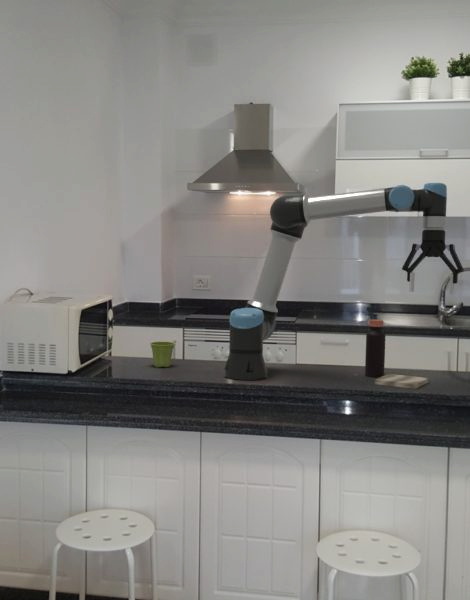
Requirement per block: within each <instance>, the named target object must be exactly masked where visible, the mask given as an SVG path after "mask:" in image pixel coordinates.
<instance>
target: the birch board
mask: <svg viewBox="0 0 470 600" xmlns="http://www.w3.org/2000/svg"><path fill="white" fill-rule="evenodd" d="M428 383H429V377H420V376H412V375H403V374H394V373H387V374H384V376H382V377H377V378H376V379H374V384H375V385H379V386H387V387H388V386H389V387H395V388H397V387H398V388H406V389H413V390H417V389H419V388H421V387H423V386H425V385H426V384H428Z"/></svg>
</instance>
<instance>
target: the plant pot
mask: <svg viewBox="0 0 470 600" xmlns="http://www.w3.org/2000/svg"><path fill="white" fill-rule="evenodd" d="M149 345H150V348H151V352H152V361H153V366H154V367H156V368H162V367H163V368H169V367H171V363H172V357H173V351H174V349H175V348H174V347H175V345H176V342H172V341H152V342H150V343H149Z"/></svg>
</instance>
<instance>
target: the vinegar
mask: <svg viewBox="0 0 470 600" xmlns="http://www.w3.org/2000/svg"><path fill="white" fill-rule="evenodd" d="M368 322H369V324H368V325H369V326H368V327H369V330H368V331H367V332H366V335H365V360H364V361H365V364H364V365H365V366H364V367H365V368H364V375H365V376H366V377H368V378H369V377H370V378H380V377H382V376H385V358H386V333H385V332H384V331H383V328H384V320H383V319H369V321H368Z"/></svg>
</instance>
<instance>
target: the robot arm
mask: <svg viewBox="0 0 470 600" xmlns="http://www.w3.org/2000/svg"><path fill="white" fill-rule="evenodd" d="M447 191H448V188H447V185H446V184H445V183H442V182H427V183H424V185H423V188H421V189H412V188H411V187H410V186H408V185H405V184H400V185H395V186H392V187H387V188H386V187H385V188H375V189H374V188H373V189H367V190H358V191H350V192H342V193H334V194H324V195H318V196H316V195H315V196H310V197H309V196H308V195H306V194H301V195H299V194H298V195H282V196H279V197H278V198H276V199H275V200H274V201H273V203H272V204H271V206H270V208H269V209H270V210H269V214H270V215H269V216H270V219H271V221H272V223H271V225H270V229H269V230H270V232H271V234H272V237H271V240H270V243H269V246H268V250H267V251H266V252H267V253H266V256H265V259H264V262H263V266H262V269H261V272H260V276H259V278H258V282H257V285H256V288H255V291H254V294H253V297H252V298H251V299H249V300H248V301H247V303H246V305H245V307H241V308H236V309H233V310H232V311H231V312H230V316H229V349H228V350H229V353H228V357H227V360H226V363H225V366H224V369H223V377H225V378H228V379H230V380H231V379H232V380H239V381H240V380H243V381H253V380H256V381H258V380H262V379H266V378H268V369H267V364H266V361H265V358H264V354H263V351H264V350H263V349H264V342H265V341H266V340H267V339H269V338H270V337H272V335H273V334H274V332H275V330H276V329H275V328H276V327H277V326H276V325H277V323H276V319H277V315H278V313H279V311H278V308H277V306H276V305H277V302H278V298H279V295H280V292H281V289H282V285H283V283H284V280H285V277H286V274H287V270H288V267H289V265H290V264H289V263H290V262H291V258H292V254H293V251H294V248H295V246H296V243H297V242H299V241H300V240H302V237H303V234H304V231H305V228H306V227H307V226H308V224H310V222H311V221H312V220H313V221H315V220H322V219H323V220H324V219H330V218H331V219H332V218H339V217H347V216H357V215H364V214H374V213H381V212H390V213H391V212H394V213H401V212H402V213H403V212H404V213H409V212H410V213H411V212H412V213H413V212H417V213H420V212H422V225H421V227H422V232H421V236H422V237H421V244H418V243H412V246H411V250H410V251H409V254H408V256H407V258H406V259H405V262H404V263H403V265H402V267H401V270H402V271H405V272H406V273H407V275H406V281H407V282H409V290H408V291H409V292H411V293H412V292H415V278H416V277H415V274H416V272H414V270H415V269H416V268H417V267H418V266H419V265H420V264H421V263H422V262H423V260H424V259H425V258H426V257H427V258H440V259H441V260H442V261H443V262H444V264H445V265H446V266H447V267H448V268H449V270H450V271H451V272H452V273H450V277H449V278H450V279H449V294H455V284H458V280H459V277H458V276H459V274H460V273H463V272H464V271H465V269H464V267H463V265H462V263H461V261H460V258H459V256H458V254H457V252H456V246H455V244H454V243H450V244H446V231H445V229H446V227H447V226H446V224H447V223H446V221H447V203H448V201H447V200H448V193H447ZM420 249H421V251H422V252H421V253H420V254H419V256H418V257H417V258H416V259H415V260H414V258H415V256H416V254H417V252H418V251H419V250H420ZM446 249H447V251H448V252H449V254H450V256H451V258H452V260H453V262H454V264H455V266H456V267H455V266H454V264H453V263H452V261H451V260H450V259H449V258H448V257H447V255H446V254H445V251H446ZM413 260H414V262H413ZM412 262H413V263H412Z"/></svg>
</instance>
